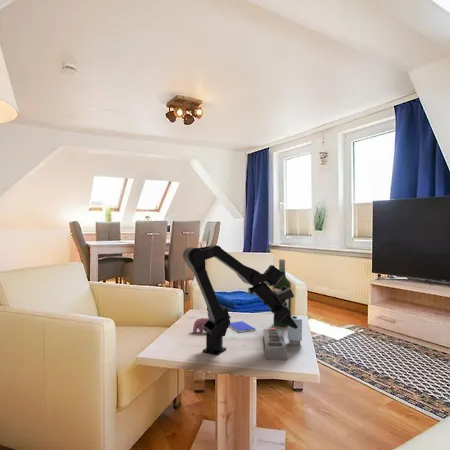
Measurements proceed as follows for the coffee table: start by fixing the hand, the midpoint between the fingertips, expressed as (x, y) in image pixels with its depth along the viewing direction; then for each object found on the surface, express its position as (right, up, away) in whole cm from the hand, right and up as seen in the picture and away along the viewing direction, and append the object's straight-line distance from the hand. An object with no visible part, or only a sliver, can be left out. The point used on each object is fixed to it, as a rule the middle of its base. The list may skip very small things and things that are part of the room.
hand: (295, 324), depth 129 cm
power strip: (-8, -8, 0) cm, 11 cm away
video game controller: (-36, -8, +15) cm, 39 cm away
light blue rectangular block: (0, -7, 0) cm, 8 cm away
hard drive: (-20, -8, +21) cm, 30 cm away
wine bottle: (-1, -8, +26) cm, 27 cm away
